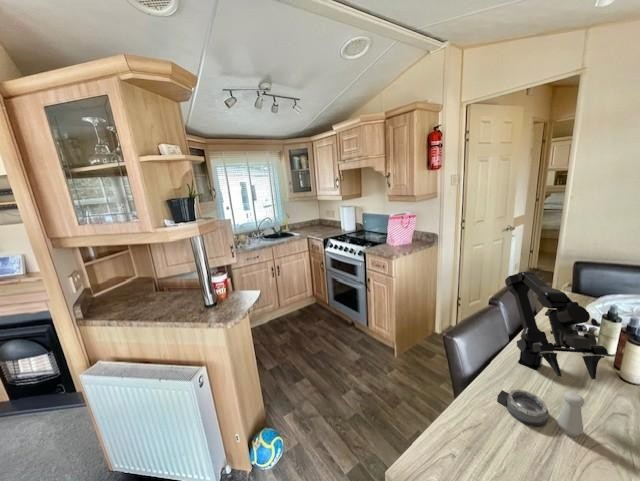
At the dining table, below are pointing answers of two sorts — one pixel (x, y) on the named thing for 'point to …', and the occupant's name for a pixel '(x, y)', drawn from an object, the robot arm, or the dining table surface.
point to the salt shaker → (571, 415)
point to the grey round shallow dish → (525, 407)
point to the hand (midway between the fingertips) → (576, 377)
